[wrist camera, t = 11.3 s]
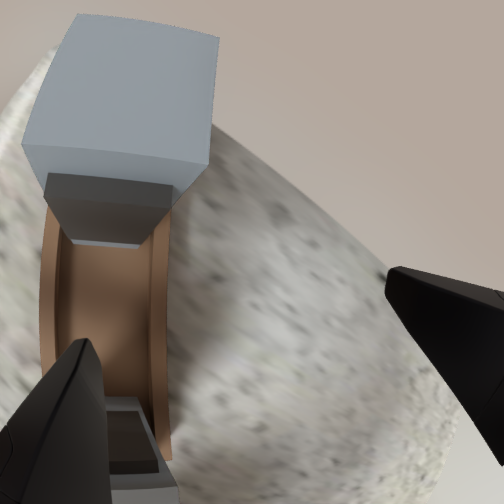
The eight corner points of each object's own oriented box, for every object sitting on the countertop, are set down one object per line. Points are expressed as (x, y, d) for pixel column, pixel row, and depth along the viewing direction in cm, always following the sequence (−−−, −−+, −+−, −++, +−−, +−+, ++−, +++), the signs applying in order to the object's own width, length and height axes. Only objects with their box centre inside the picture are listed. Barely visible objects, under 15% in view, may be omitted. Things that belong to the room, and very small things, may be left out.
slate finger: (136, 258, 18) (207, 192, 6) (72, 254, 16) (14, 172, 4) (142, 185, 18) (219, 37, 7) (81, 179, 16) (77, 13, 5)
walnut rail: (164, 443, 17) (228, 546, 8) (59, 442, 14) (45, 555, 4) (168, 166, 20) (234, 67, 10) (64, 154, 17) (51, 37, 7)
